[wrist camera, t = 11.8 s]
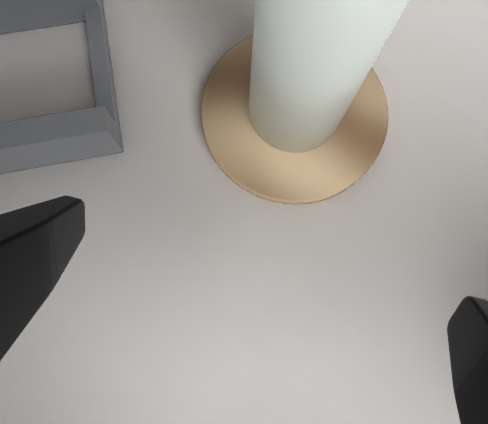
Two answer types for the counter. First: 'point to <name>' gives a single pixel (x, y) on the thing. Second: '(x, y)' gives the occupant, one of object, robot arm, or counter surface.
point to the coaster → (280, 162)
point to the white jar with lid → (312, 65)
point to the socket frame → (72, 122)
